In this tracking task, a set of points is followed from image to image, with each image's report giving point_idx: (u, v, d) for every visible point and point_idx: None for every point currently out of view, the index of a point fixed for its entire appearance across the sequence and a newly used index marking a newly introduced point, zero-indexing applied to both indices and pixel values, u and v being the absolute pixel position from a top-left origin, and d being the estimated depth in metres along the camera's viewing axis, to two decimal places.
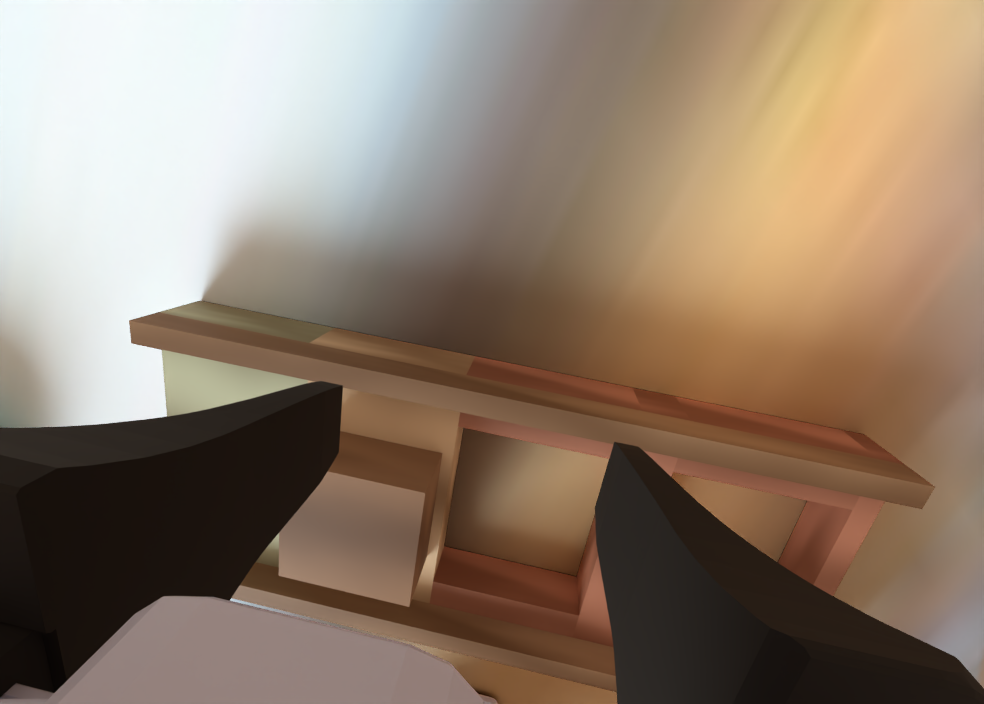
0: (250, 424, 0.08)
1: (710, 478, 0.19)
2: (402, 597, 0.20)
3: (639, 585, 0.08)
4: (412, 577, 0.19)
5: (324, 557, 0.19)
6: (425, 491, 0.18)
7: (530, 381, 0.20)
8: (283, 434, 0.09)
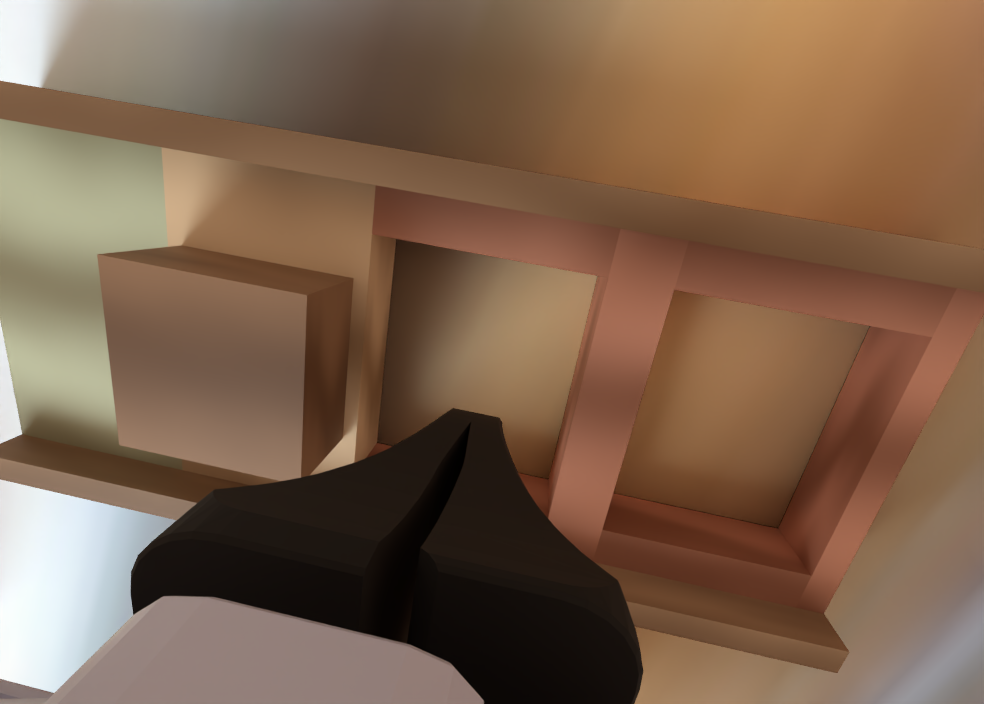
0: (439, 465, 0.08)
1: (727, 296, 0.14)
2: (290, 470, 0.14)
3: None
4: (301, 438, 0.13)
5: (177, 412, 0.14)
6: (308, 294, 0.12)
7: None
8: (449, 470, 0.09)
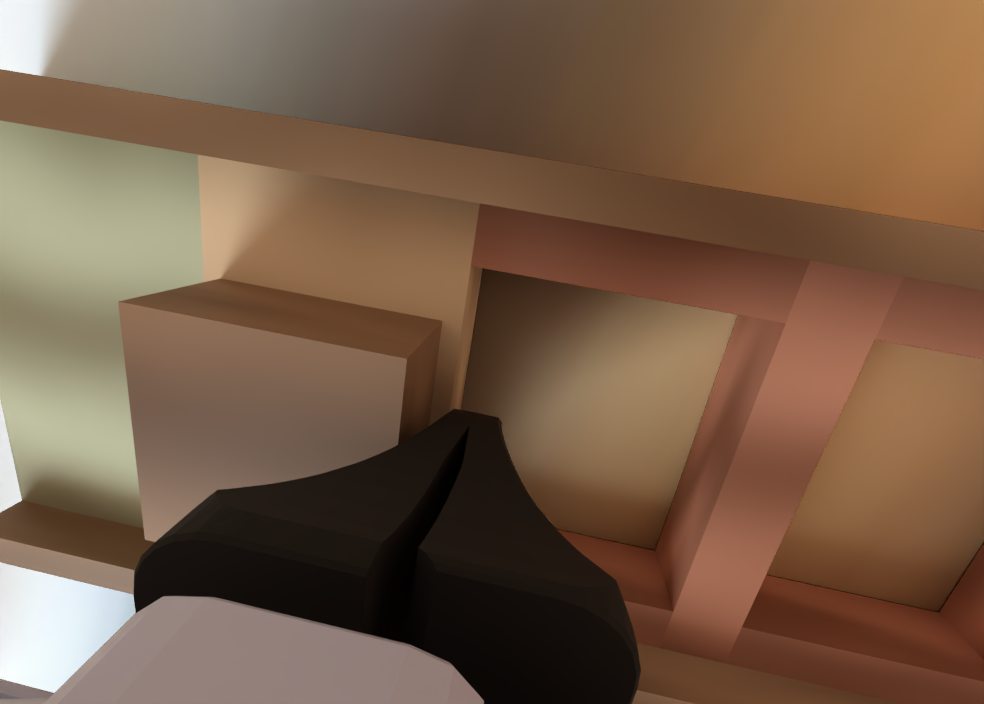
0: (441, 465, 0.08)
1: (948, 349, 0.10)
2: None
3: None
4: None
5: None
6: (407, 357, 0.09)
7: None
8: (450, 470, 0.09)
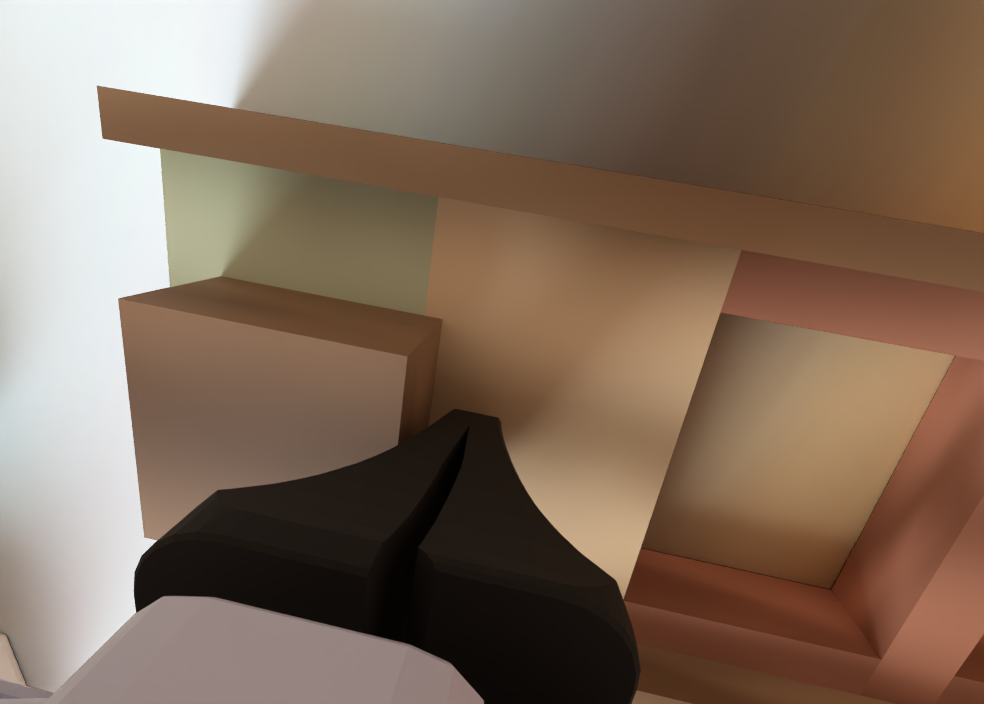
0: (441, 465, 0.08)
1: None
2: None
3: None
4: None
5: None
6: (408, 355, 0.09)
7: None
8: (450, 470, 0.09)
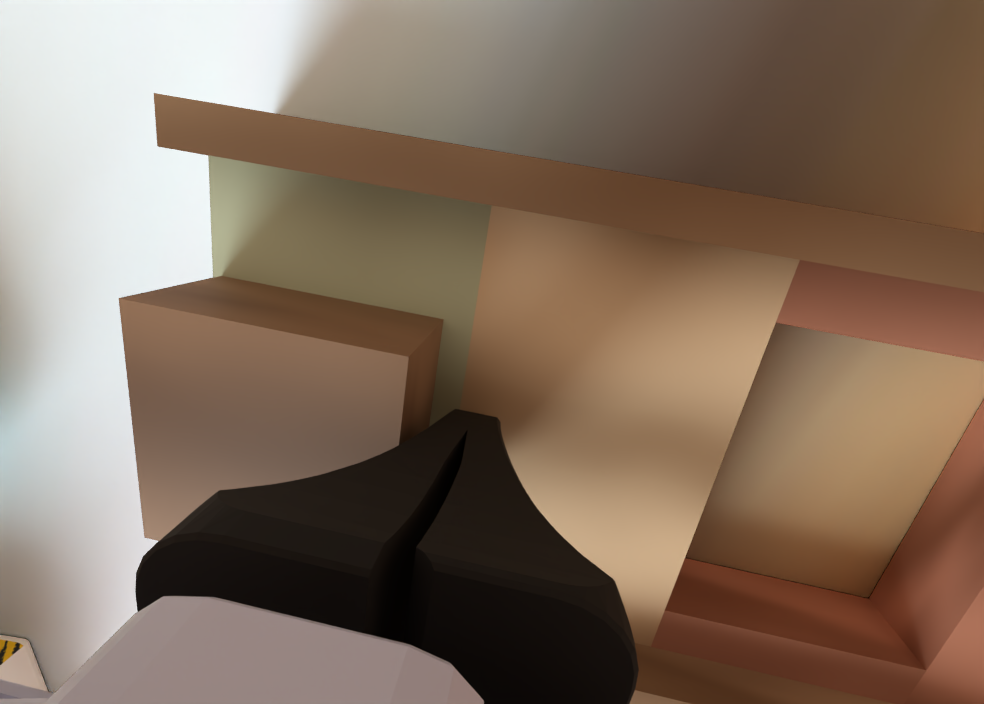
0: (442, 466, 0.08)
1: None
2: None
3: None
4: None
5: None
6: (409, 355, 0.09)
7: None
8: (451, 470, 0.09)
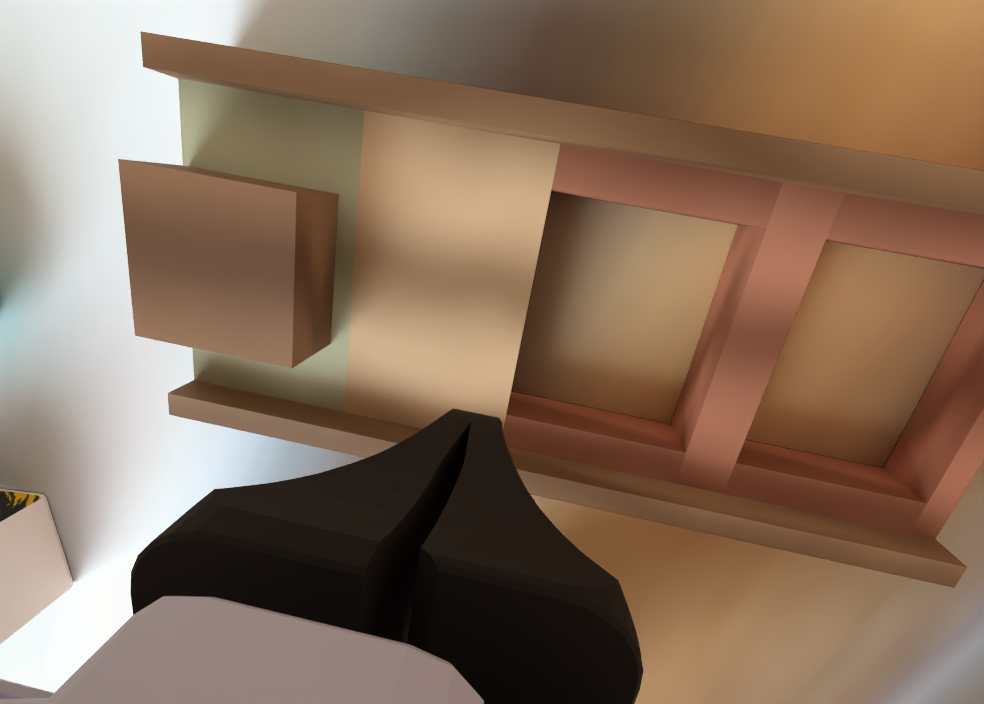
0: (439, 465, 0.08)
1: (874, 244, 0.15)
2: (282, 355, 0.16)
3: None
4: (292, 324, 0.16)
5: (185, 303, 0.16)
6: (297, 192, 0.14)
7: None
8: (449, 470, 0.09)
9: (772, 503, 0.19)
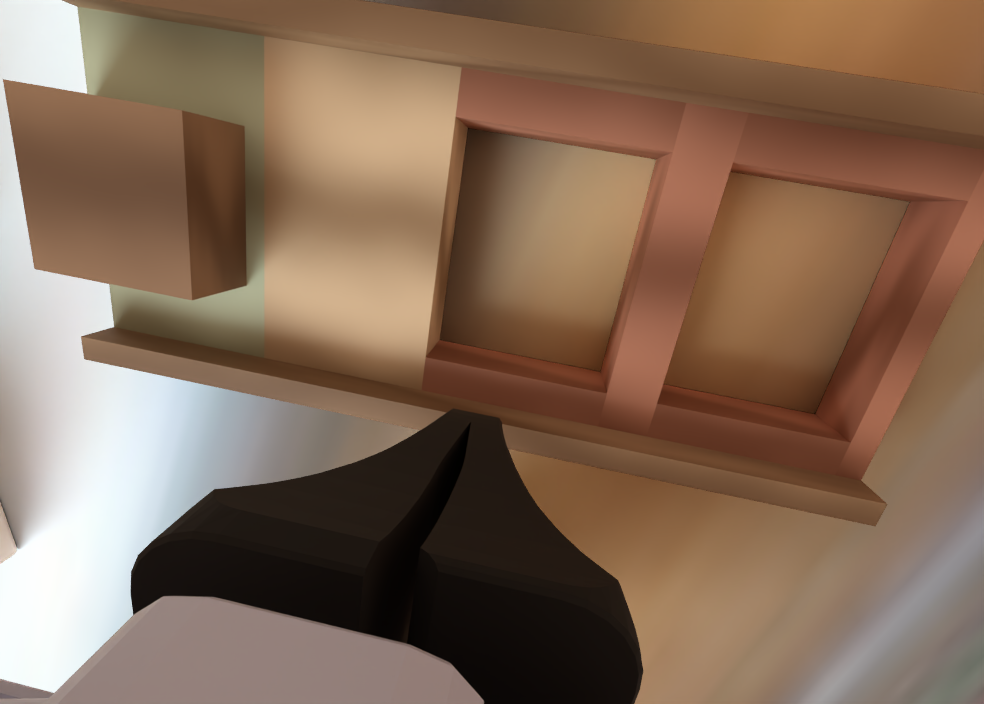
0: (439, 465, 0.08)
1: (782, 167, 0.15)
2: (181, 286, 0.16)
3: None
4: (188, 252, 0.15)
5: (81, 232, 0.15)
6: (184, 111, 0.14)
7: None
8: (449, 470, 0.09)
9: (695, 445, 0.18)
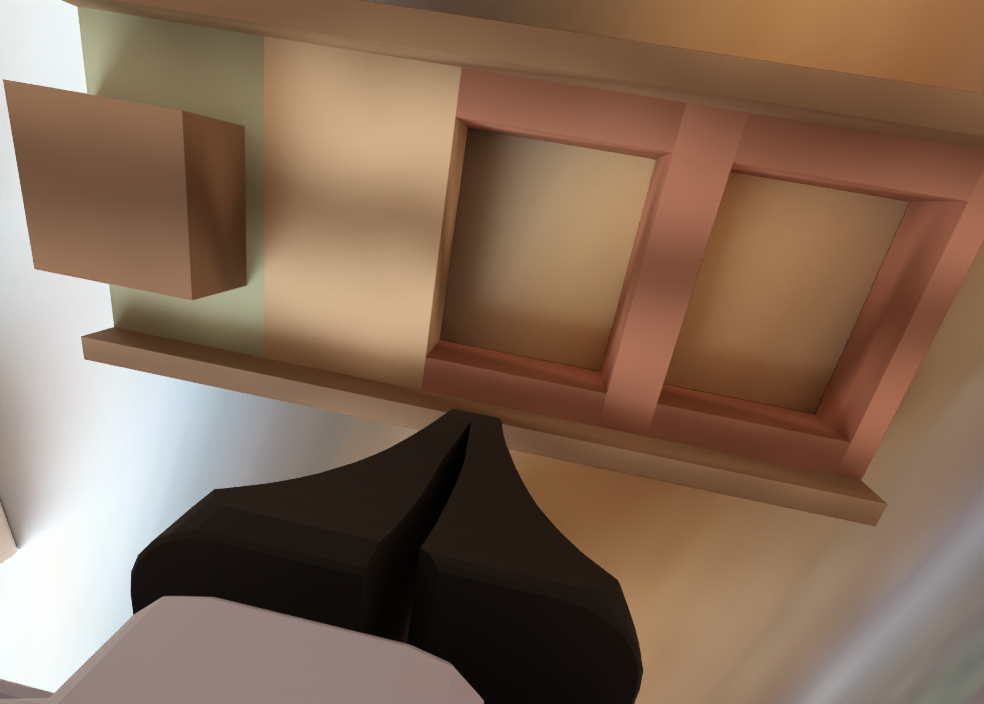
0: (439, 465, 0.08)
1: (782, 167, 0.15)
2: (181, 286, 0.16)
3: None
4: (188, 252, 0.15)
5: (81, 232, 0.15)
6: (184, 111, 0.14)
7: None
8: (449, 470, 0.09)
9: (695, 445, 0.18)
